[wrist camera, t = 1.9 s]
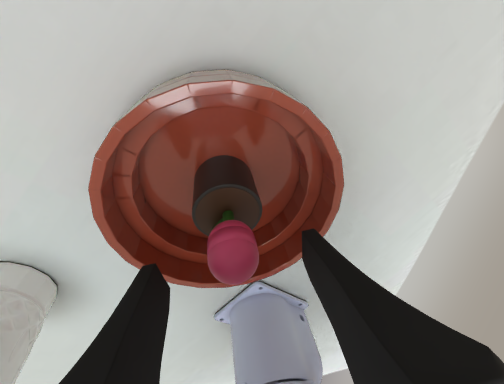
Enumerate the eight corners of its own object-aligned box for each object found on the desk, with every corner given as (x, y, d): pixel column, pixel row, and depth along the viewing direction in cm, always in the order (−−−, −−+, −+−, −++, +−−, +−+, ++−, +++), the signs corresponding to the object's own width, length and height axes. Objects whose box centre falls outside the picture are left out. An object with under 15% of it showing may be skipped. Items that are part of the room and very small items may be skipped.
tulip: (263, 176, 18) (301, 268, 11) (228, 212, 20) (241, 315, 13) (218, 143, 16) (229, 229, 9) (182, 186, 18) (166, 291, 10)
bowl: (351, 161, 20) (385, 190, 16) (235, 266, 24) (240, 307, 21) (199, 2, 12) (197, -12, 9) (77, 195, 17) (42, 239, 14)
